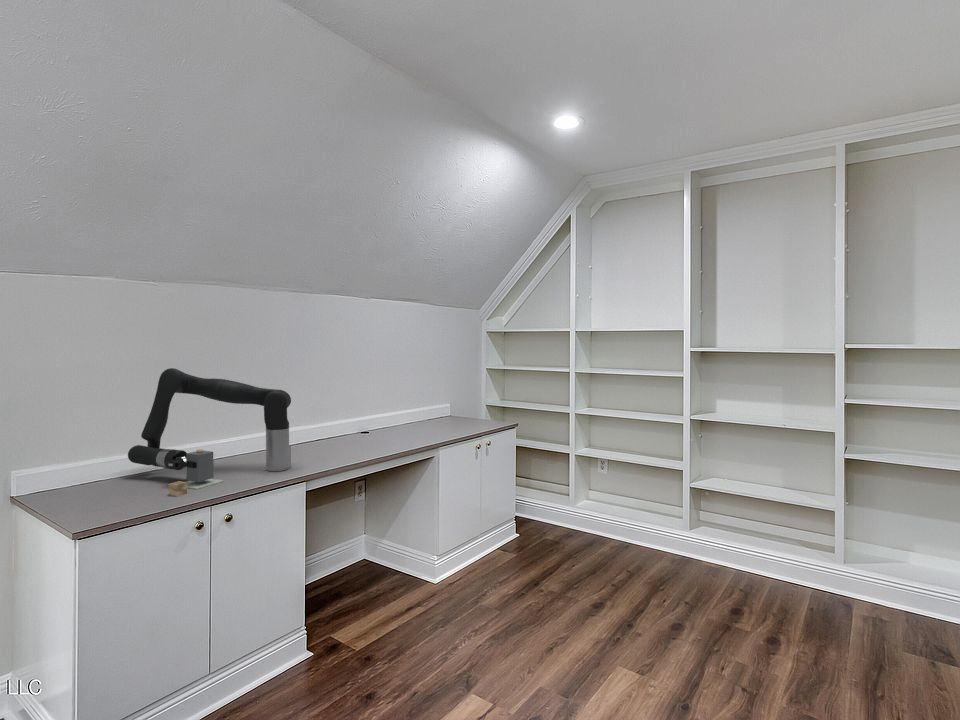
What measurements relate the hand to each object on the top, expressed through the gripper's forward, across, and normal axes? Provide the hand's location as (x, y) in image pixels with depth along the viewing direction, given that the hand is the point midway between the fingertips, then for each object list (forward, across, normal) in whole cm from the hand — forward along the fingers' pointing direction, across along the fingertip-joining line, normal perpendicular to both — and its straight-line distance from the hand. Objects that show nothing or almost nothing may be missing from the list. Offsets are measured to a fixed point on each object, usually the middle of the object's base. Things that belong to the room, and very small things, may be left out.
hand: (203, 463), depth 207 cm
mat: (-2, 0, +8) cm, 8 cm away
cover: (-2, 0, +6) cm, 6 cm away
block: (+3, -13, +8) cm, 15 cm away
